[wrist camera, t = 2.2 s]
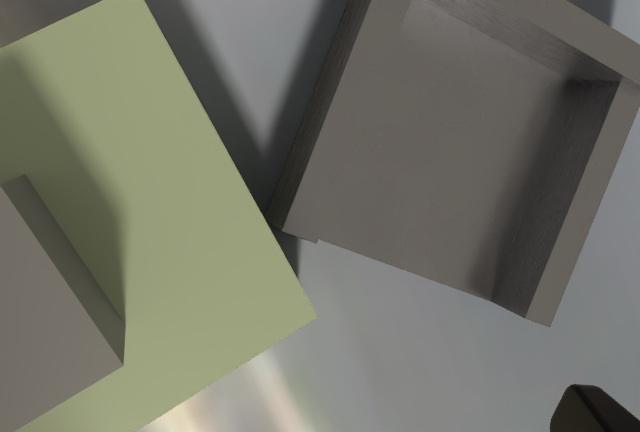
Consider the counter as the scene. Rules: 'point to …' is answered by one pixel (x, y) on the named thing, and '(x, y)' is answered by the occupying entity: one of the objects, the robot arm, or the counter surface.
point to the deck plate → (122, 233)
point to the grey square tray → (464, 142)
